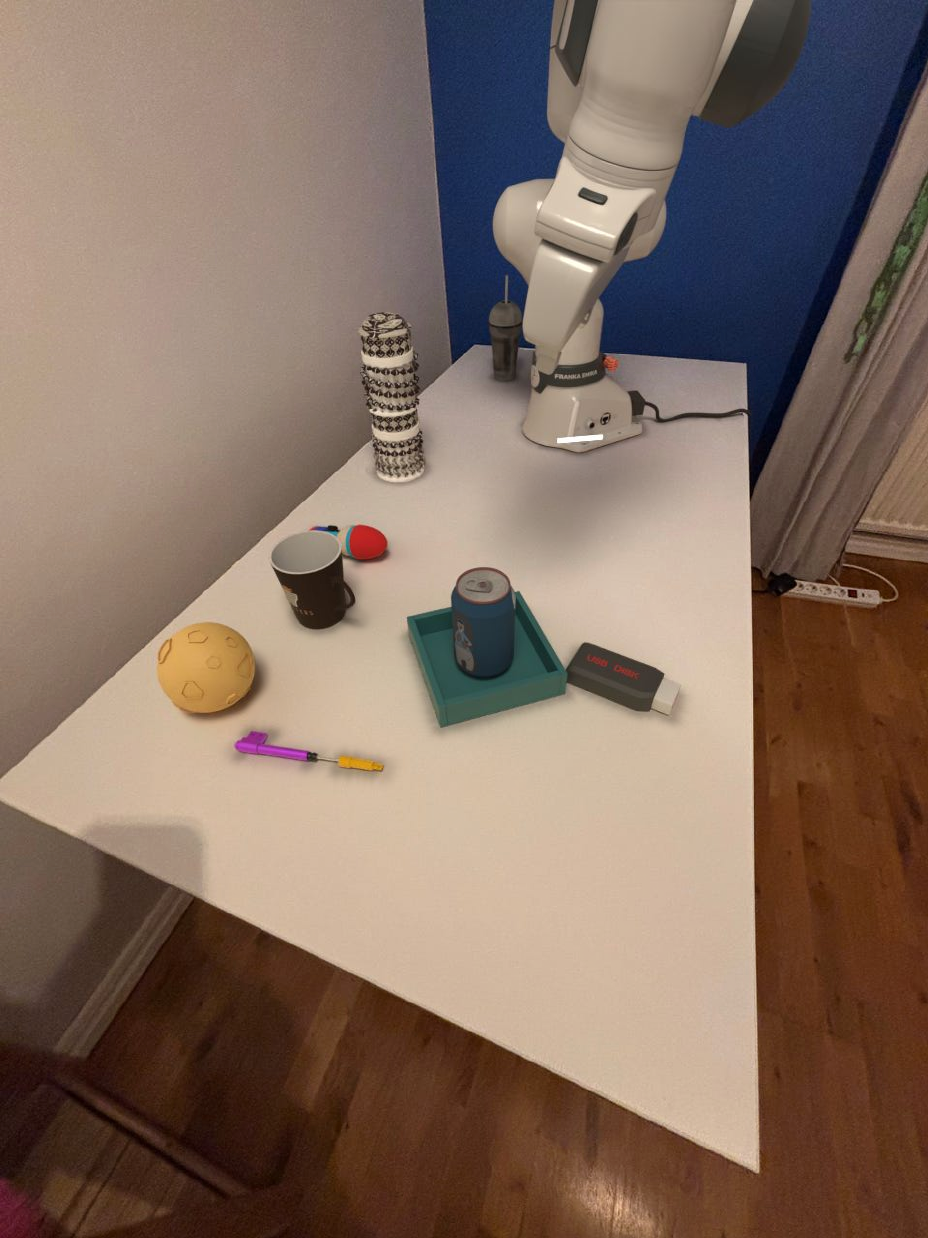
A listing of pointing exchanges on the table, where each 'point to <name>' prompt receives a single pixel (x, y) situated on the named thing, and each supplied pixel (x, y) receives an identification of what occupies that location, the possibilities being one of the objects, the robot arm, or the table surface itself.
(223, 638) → the stress ball
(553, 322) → the robot arm
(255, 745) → the purple orange rod tool
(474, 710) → the bin
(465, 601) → the soda can
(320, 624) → the coffee mug
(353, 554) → the toy figure
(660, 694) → the usb drive
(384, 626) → the table surface
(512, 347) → the beverage cup
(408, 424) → the decorative candle
